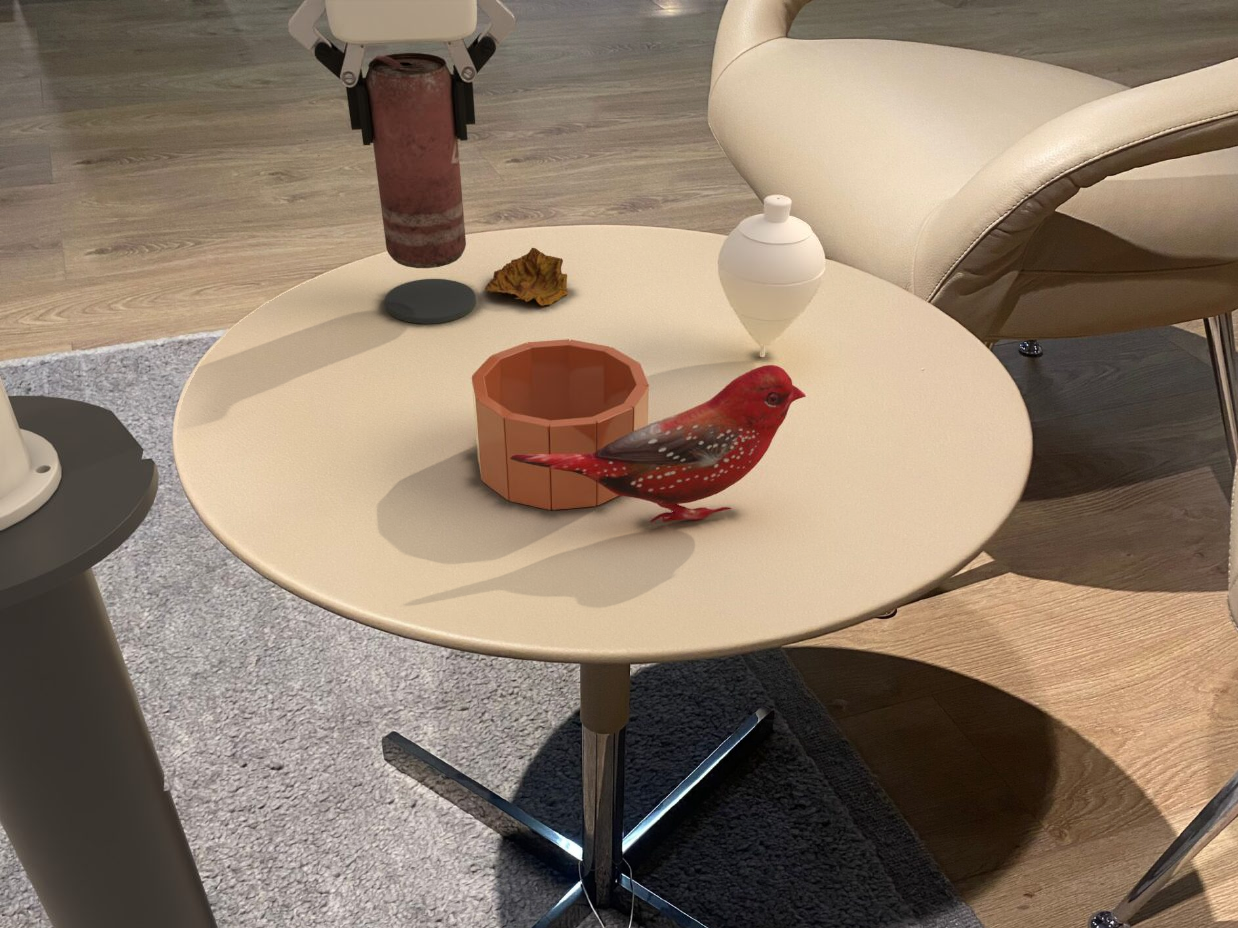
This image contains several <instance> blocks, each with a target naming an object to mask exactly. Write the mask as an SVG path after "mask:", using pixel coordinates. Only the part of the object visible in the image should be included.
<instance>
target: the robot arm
mask: <svg viewBox="0 0 1238 928" xmlns="http://www.w3.org/2000/svg"><path fill="white" fill-rule="evenodd" d="M478 8H479V10H481V11H482V12H483V13H484V14H485V15H486V16H487V17H488V18H489V22H488V24H487V25H486V27H485V29H483V31H482V32H480V33H479V34H478V35H477V37H476V38H475V39H474V40H473V41H472V43H470V45H469V46H467V43H466V41H465V39H466V38H468V37H469V36H471V35H472V34H473V33H474V32H475V31H476V28H477V23H478ZM325 12H326V17H327V21H328V27H329V30H330V33H331V34H332V36H333V37H334V38H336V39H337V40H340V41H341V42H344V46H343V50H341V49H340V48H339V47H338V46H336V45H335V44H334V42H332V41H331V40H329V39H327V37H325V36H323V34H321V32H320V31H319V30H317V28H316V27H315V26H316V24H317V22H318V21H319V19H320V18H321V17H322V16H323V14H324V13H325ZM516 26H517V19H516V17H515V15H514V13H513V12H512V11H511V10H510V9H509V7H507V6H506V5H505V4H504V2H503V1H501V0H304V1H303V2H302V3H301V4H300V5H299V7H298V9H297V10H296V11H295V12H294V14H293V15H292V16H291V18H290V19H289V21H288V26H287V31H288V34H289V35H290V36H291V37H292V38H293V39H294V40H295V41H296V42H298V43H299V44H300V45H301V46H302V47H303V48H305V50H307V51H308V52H309V53H311V54H312V55H313V56H314V57H315V58H316V60H317V61H318V62H319V63H321V64H322V65H323V66H324V67H325V68H326V69H328V70H329V72H331V73H332V74H333V75H334V77H336V78H338V79H339V81H340V82H341V84H342V85H343V86H344V87H345V90H346V98H347V99H346V100H347V105H348V112H349V113H348V114H349V120H350V128H351V131H357V130H358V131H359V130H360V131H361V139H362V146H371V144H373V136H372V128H371V120H370V112H369V104H368V95H367V87H366V83H365V77H364V76H363V70H362V66H363V62H364V59H365V55H366V52H367V48H368V46H369V45H385V44H389V45H390V44H391V45H392V44H414V43H415V44H417V43H418V44H419V43H442V42H443V44H444V46H445V48H446V50H447V52H448V55H449V57H450V58H451V60H452V62H453V65H452V68H453V69H452V73H451V74H452V77H453V81H452V83H453V95H454V108H455V120H456V133H457V139H458V140H459V141H461V142H463V141H468V127H467V126H468V125H476V111H475V98H474V81H475V80H476V79H477V76H478V75H477V74H478V73H479V72H480V71H481V70H482V68H483V67H484V66H485V65H486V64H487V63H488V62H489V60H490V59H491V58H492V57H493V55H494V54H495V53H496V51H497V49H498V48H499V47H500V45H502V44H503V42H504V41H505V40H506V39H507V38H508V36H509V35H510V34H511V33H512V32H513V31H514V29H515V28H516ZM8 396H9V395H8V394H7V391H6V388H5V385H4V382H3V380H2V377H1V376H0V531H2V530H5V529H7V528H9V527H10V526H12V525H14V524H16V523H18V522H20V521H22V520H23V519H25V518H26V517H28V516H29V515H31V514H32V513H34V512H35V511H37V510H38V509H39V508H40V507H41V506H42V505H43V504H44V503H45V502H47V501H48V500H49V498H50V497H51V496H52V494H53V493H54V492H55V490H56V489H57V487H58V485H59V482H60V480H61V473H62V467H61V464H60V461H59V458H58V455H57V452H56V451H55V449H54V447H53V446H52V444H50V443H49V442H48V441H47V440H46V439H44V438H43V437H41V436H39V435H37V434H35V433H32V432H30V431H26V430H23V429H20V428H19V426H18V423H17V420H16V418H15V415H14V412H13V409H12V407H11V404H10V401H9V398H8Z"/></svg>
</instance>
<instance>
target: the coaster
mask: <svg viewBox="0 0 1238 928" xmlns="http://www.w3.org/2000/svg"><path fill="white" fill-rule="evenodd" d="M476 304H477V297H476V293H475V291H474V290H473V289H472V288H471V287H470V286H469V285H467V284H465V283H463V282H460V281H456V280H452V279H446V278H423V279H416V280H411V281H407V282H404V283H401V284H400V285H397V286H395V287H393V288H392V289H390V290H389V291H388V292H387V294H386V295H385V298H384V306H385V310H386V311H387V312H388V314H389V315H390V316H391V317H393V318H395V319H397V320H399V321H402V322H407V323H411V324H421V325H422V324H423V325H431V324H433V325H434V324H441V323H443V324H444V323H446V322H452V321H455V320H458V319H460V318H463V317H465V316H466V315H468V314H469V313H471V312H472V311H473V310H474V308H475V307H476Z"/></svg>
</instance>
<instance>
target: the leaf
mask: <svg viewBox="0 0 1238 928" xmlns="http://www.w3.org/2000/svg"><path fill="white" fill-rule="evenodd" d="M563 262H564V260H563V258H561V257H556V256H552V255H547V254H544V252H541V251H540V250H538V249H537V248H536V247H531V249H530V250H529V251H528V252H527V254H523V255H521V256H520V257H518V258H516V259H515V258H513V259H511V261H510V262H508V263H506V264H505V265H504V266H503V267H502V268H499V269H498V270H495V271H493V278H491V279H490V280H489V282H488V283H487V285H486V286H485V287H484V291H488V292H489V294H491V293H493V292H494V293H502V294H503V295H515V296H516V297H515V299H516V300H524V301H525V302H530V301H536V302H537V303H538V304H539V305H540V306H543V307H544V306H547V305H550V306H551V305H552V304H553V303H555V302H557V301H559V300H560V299H561V298H563V297H564V296H566V295H569V292H568V288H567V286H568V284H567V283H568V281H567V280H568V274H567V273H563V272H562V267H563V266H562V265H563Z"/></svg>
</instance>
